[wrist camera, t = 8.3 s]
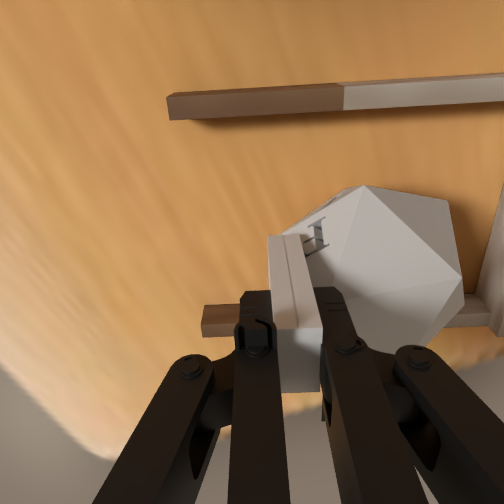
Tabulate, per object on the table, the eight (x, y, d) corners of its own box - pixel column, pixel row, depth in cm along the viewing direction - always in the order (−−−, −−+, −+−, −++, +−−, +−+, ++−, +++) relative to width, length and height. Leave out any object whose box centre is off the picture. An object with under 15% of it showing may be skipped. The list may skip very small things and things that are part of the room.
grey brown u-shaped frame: (174, 92, 19) (161, 99, 16) (555, 69, 18) (605, 73, 16) (206, 317, 26) (200, 348, 23) (486, 305, 25) (514, 336, 22)
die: (429, 144, 21) (364, 145, 13) (512, 292, 20) (496, 387, 12) (309, 216, 26) (211, 247, 18) (371, 335, 25) (297, 421, 18)
